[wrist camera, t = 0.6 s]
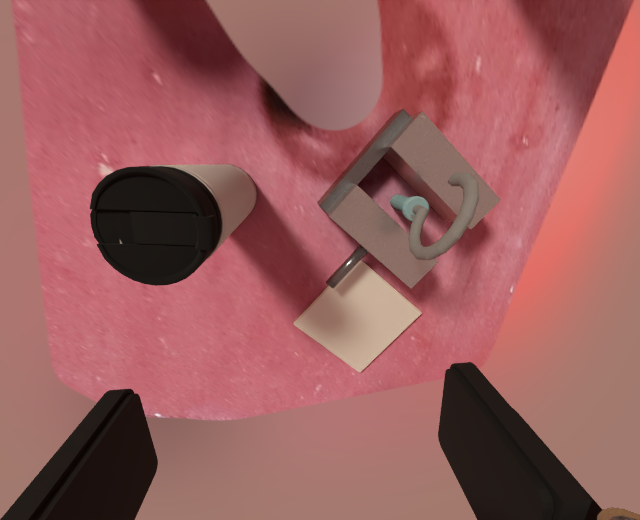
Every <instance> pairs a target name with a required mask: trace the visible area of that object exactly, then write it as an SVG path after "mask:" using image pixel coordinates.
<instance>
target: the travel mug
mask: <svg viewBox="0 0 640 520" xmlns="http://www.w3.org/2000/svg"><path fill="white" fill-rule="evenodd" d="M256 201H257V191H256V187H255V184H254V182H253V180H252V178H251V177H250V176H249V175H248V174H247V173H246V172H245V171H244V170H242V169H241V168H239V167H236V166H233V165H156V166H140V167H127V168H123V169H120V170H116V171H114V172H113V173H111V174H109V175H107V176H106V177H105V178H104V179H103V180H102V181H101V182H100V183H99V184H98V185H97V187H96V188H95V190H94V191H93V193H92V199H91V205H90V209H92V211H91V214H90V217H91V226H92V230H93V233H94V237H95V238H96V240H97V241H98V242H99V244H97V246H98V248H99V250H100V251H101V253H102V255H103V257H104V259H105V260H106V261H107V262H108V263H109V264H110V265H111V266H112V267H113V268H114V269H116V270H117V271H119V272H120V273H121V274H123V275H124V276H126V277H128V278H130V279H132V280H134V281H137V282H141V283H144V284H149V285H169V284H173V283H177V282H179V281H181V280H183V279H186V278H187V277H188V276H190V275H191V274H192V273H194V272H195V271H196V270H197V268H198V267H199V266H200V265H201V264H202V263H203V262H204V261H205V260H206V259H208V258H209V257H210V256H211V255H212V254H213V253H214V252H215V251H216V250H217V249H218V247H219V246H220V245H221V244H222V243H223V242H224V241H225V240H226V239H227V238H228V237H229V236H230V235H231V233H232V232H233V231H234V230H235V229H236V228H237V227H238V226H239V225H240V224H241V223H242V222H243V220H244V219H245V218H246V217H247V216H248V215H249V214H250V213H251V212H252V210H253V209H254V207H255V204H256Z"/></svg>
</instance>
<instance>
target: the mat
mask: <svg viewBox="0 0 640 520" xmlns="http://www.w3.org/2000/svg"><path fill="white" fill-rule="evenodd" d="M421 314H422V312H421V311H420V310H419V309H418V308H416V307H415V306H414V305H413V304H412V303H411V302H409V301H408V300H407V299H406V298H405V297H404V296H403V295H401V294H400V293H399V292H398V291H397V290H396V289H394V288H393V287H392V286H391V285H390V284H389V283H387V282H386V281H385V280H384V279H383V278H382V277H381V276H379V275H378V274H377V273H376V272H375V271H374V270H372V269H371V268H370V267H369V266H368V265H367V264H366V263H364V262H363V261H362V260H360V261H359V262H358V263H357V264H356V265H355V266H354V268H353V269H352V270H351V271H350V272H349V273H348V274H347V275H346V276H345V277H344V278H343V279H342V280H341V281H340V282H339V283H338V285H337V286H336V287H335V288H334V289H333V288H331V287H330V286H328V287H327V288H326V289H325V290H324V291H323V292H322V293H321V294H320V295H319V296H318V297H317V298H316V299H315V300H314V302H313V303H312V304H311V305H310V306H309V307H308V308H307V309H306V310H305V311H304V312H303V313H302V314H301V315H300V316H299V318H298V319H297V320H296V321H295V322H294V325H295V326H296V327H298V328H299V329H300V330H302V331H303V332H305V333H306V334H307V335H309V336H310V337H311V338H313V339H314V340H316V341H317V342H318V343H320V344H321V345H322V346H324V347H325V348H327V349H328V350H329V351H331V352H332V353H333V354H335V355H336V356H338V357H339V358H340V359H342V360H343V361H344V362H346V363H347V364H349V365H350V366H351V367H353V368H354V369H355V370H357V371H358V372H361V371H362V370H363V369H364V368H365V367H366V366H367V365H369V364H370V363H371V362H372V361H373V360H374V359H375V358H376V357H377V356H378V355H379V354H380V353H381V352H382V351H383V350H384V349H385V348H386V347H387V346H388V345H389V344H390V343H391V342H392V341H393V340H395V339H396V338H397V337H398V336H399V335H400V334H401V333H402V332H403V331H404V330H405V329H406V328H407V327H408V326H409V325H410V324H411V323H412V322H413V321H414V320H415V319H416V318H417V317H418V316H420V315H421Z"/></svg>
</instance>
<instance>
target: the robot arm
mask: <svg viewBox="0 0 640 520" xmlns="http://www.w3.org/2000/svg"><path fill="white" fill-rule="evenodd" d="M439 424H440V425H439V432H438V437H439V442H440V445H441V448H442V450H443V452H444V454H445V456H446V458H447V460H448V462H449V464H450V466H451V468H452V470H453V472H454V474H455V476H456V478H457V480H458V482H459V484H460V486H461V488H462V489H463V492H464V494H465V496H466V498H467V500H468V502H469V504H470V506H471V508H472V510H473V511H474V514H475V515H476V518H477V520H640V515H639V514H636V513H633V512H631V511H628V510H625V509H619V508H607V509H603V510H602V509H601V508H600V507H599V505H598V504H597V503H596V502H595V501H594V500H593V499H592V497H591V496H590V495H589V494H588V493H587V492H586V491H585V489H584V488H583V487H582V486H581V485H580V484H579V483H578V481H577V480H576V479H575V478H574V477H573V476H572V474H571V473H570V472H569V471H568V470H567V469H566V468H565V467H564V465H563V464H562V463H561V462H560V461H559V460H558V459H557V458H556V456H555V455H554V454H553V453H552V452H551V451H550V449H549V448H548V447H547V446H546V445H545V444H544V442H543V441H542V440H541V439H540V438H539V437H538V436H537V435H536V433H535V432H534V431H533V430H532V429H531V428H530V426H529V425H528V424H527V423H526V422H525V421H524V419H523V418H522V417H521V416H520V415H519V414H518V413H517V412H516V411H515V410H514V409H513V408H512V407H511V406H510V405H509V404H508V403H507V402H506V401H505V399H504V398H503V397H502V396H501V395H500V394H499V393H498V391H497V390H496V389H495V388H494V387H493V386H492V385H491V384H490V382H489V381H488V380H487V379H486V377H485V376H484V375H483V374H482V373H481V372H480V371H479V369H478V368H477V367H476V366H475V365H474V364H473V363H471V362H468V363H455V364H452V365H451V367H450V369H447V370H446V373H445V381H444V390H443V398H442V407H441V415H440V423H439ZM157 465H158V460H157V456H156V453H155V449H154V445H153V442H152V438H151V435H150V431H149V428H148V424H147V421H146V417H145V414H144V410H143V407H142V403H141V400H140V397H139V395H138V394H134V391H133V390H132V389H121V390H110V391H108V392H106V393H105V394H104V395H103V397H102V398H101V399H100V400H99V401H98V403H97V404H96V405H95V406H94V408H93V409H92V410H91V411H90V412H89V413H88V415H87V416H86V417H85V418H84V419H83V421H82V422H81V423H80V424H79V426H78V427H77V428H76V429H75V430H74V432H73V433H72V434H71V435H70V436H69V438H68V439H67V440H66V441H65V442H64V444H63V445H62V446H61V447H60V449H59V450H58V451H57V452H56V453H55V454H54V456H53V457H52V458H51V459H50V460H49V462H48V463H47V464H46V465H45V466H44V468H43V469H42V470H41V471H40V472H39V474H38V475H37V476H36V477H35V478H34V480H33V481H32V482H31V483H30V485H29V486H28V487H27V488H26V489H25V491H24V492H23V493H22V494H21V495H20V497H19V498H18V499H17V500H16V501H15V503H14V504H13V505H12V506H11V507H10V509H9V510H8V511H7V512H6V513H5V515H4V516H3V517H2V518H1V519H0V520H135V517H136V515H137V513H138V511H139V509H140V507H141V504H142V502H143V500H144V498H145V495H146V493H147V491H148V489H149V486H150V485H151V482H152V480H153V478H154V476H155V473H156V470H157Z"/></svg>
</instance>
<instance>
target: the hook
mask: <svg viewBox="0 0 640 520" xmlns="http://www.w3.org/2000/svg"><path fill="white" fill-rule="evenodd" d="M447 183H449V184H450V185H451V186H460V187H461V188H462V189H463V201H462V204H461V208H460V211H459V214H458V215H457V217H456V219H455V220H454V222H453V224H452V226H451V227H450V229H449V230H448V231H447V232H446V233H445V234H444V235H443V236H442V238H441V239H440V240H438V241H437V242H435V243H434V244H432V245H431V246H427V247H424V246H422V245H421V240H420V235H421V229H422V226H423V223H424V221H425V219H426V216H427V215H428V212H429V204H428V202H427V201H426V200H425V199H424V198H422V197H419V196H413V197H410V198H408V197H405V196H402V195H398V194H397V195H394V196H393V197H392V198H391V201H390V203H391V206H392V207H394V208H395V209H397V210H400V211H402V212H403V215H404V216H405V218H407V219H408V220H410V221H413V222H412V224H411V228H410V233H409V238H408V240H409V249H410V252H411V253H412V254H413V255H414V256H415V258H416V259H419V260H432V259H434V258H436V257H438V256H440V255H442V254H444V253H446V252H447V251H448V250H449V249H450V248H451V247H452V246H453V245H454V244H455V243H456V242H457V241H458V240H459V239H460V238H461V237H462V235H463V233H464V232H465V230H466V229H467V227H468V225H469V224H470V222H471V221H472V219H473V216H474V213H475V210H476V207H477V204H478V201H479V183H478V181H477V180H476V179H475V178H474V177H473V175H472V174H471V173H470V172H456V173H453V174H452V175H451V176H450V178H449V180H448V182H447Z"/></svg>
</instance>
